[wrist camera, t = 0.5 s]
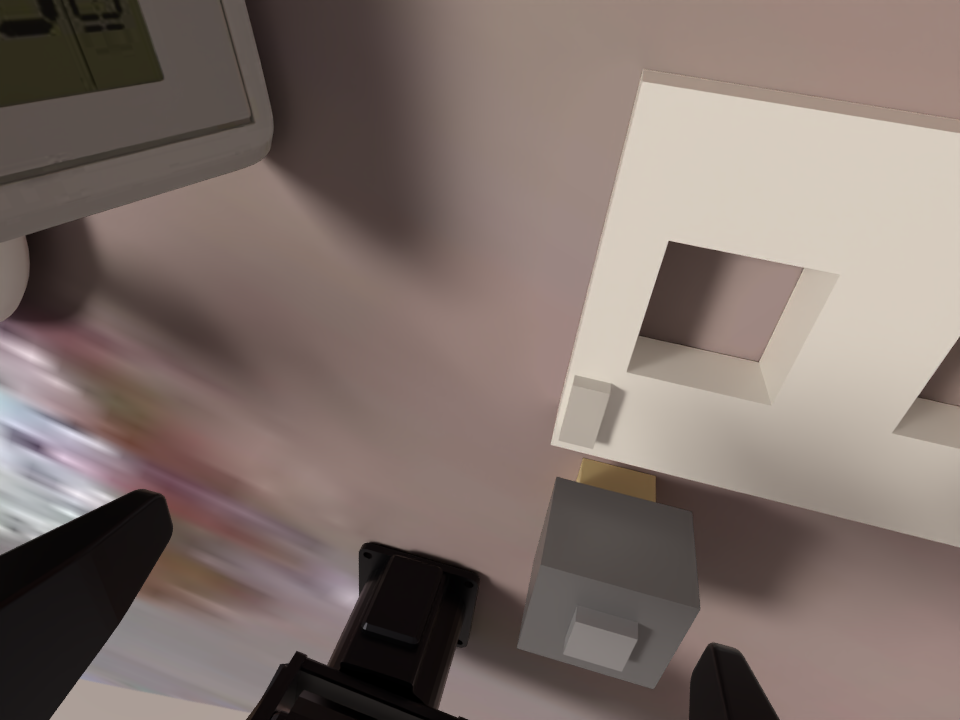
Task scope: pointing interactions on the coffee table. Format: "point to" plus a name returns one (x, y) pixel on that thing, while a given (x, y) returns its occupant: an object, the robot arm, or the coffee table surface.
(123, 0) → the digital clock
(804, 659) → the coffee table surface
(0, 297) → the flower in vase
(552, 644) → the plug
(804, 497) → the socket
